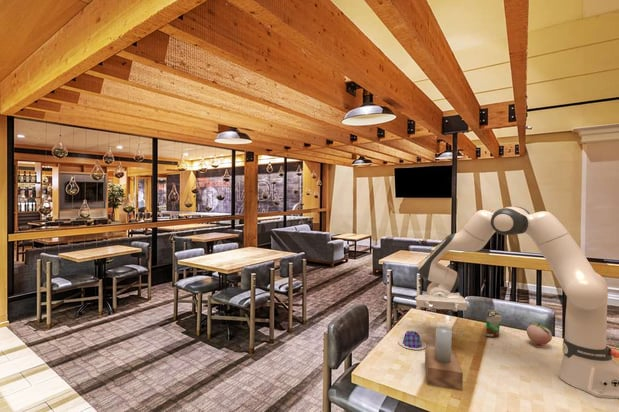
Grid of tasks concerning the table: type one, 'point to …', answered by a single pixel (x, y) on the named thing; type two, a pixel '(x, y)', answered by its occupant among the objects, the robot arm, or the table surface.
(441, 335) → the metal cylinder
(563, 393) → the table surface
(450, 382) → the walnut block
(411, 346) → the pudding
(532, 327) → the decorative fruit
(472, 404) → the table surface
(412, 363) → the table surface
